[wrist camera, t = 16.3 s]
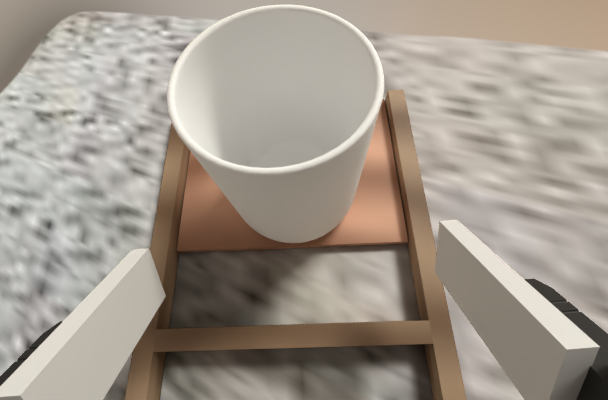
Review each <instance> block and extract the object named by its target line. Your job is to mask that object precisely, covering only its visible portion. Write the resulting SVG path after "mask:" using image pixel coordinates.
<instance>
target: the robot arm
mask: <svg viewBox="0 0 608 400" xmlns="http://www.w3.org/2000/svg"><path fill="white" fill-rule="evenodd" d="M435 273H436V275H437V276H438V278H439V279H440V280H441V282H442V283H443V285H444V286H445V287H446V289H447V290H448V292H449V293H450V295H451V296H452V297H453V299H454V300H455V302H456V303H457V304H458V306H459V307H460V309H461V310H462V312H463V313H464V314H465V316H466V317H467V319H468V320H469V321H470V323H471V324H472V326H473V327H474V329H475V330H476V331H477V333H478V334H479V336H480V337H481V338H482V340H483V341H484V343H485V344H486V346H487V347H488V348H489V350H490V351H491V353H492V354H493V355H494V357H495V358H496V360H497V361H498V363H499V364H500V365H501V367H502V368H503V370H504V371H505V372H506V374H507V375H508V377H509V378H510V380H511V381H512V382H513V384H514V385H515V387H516V388H517V389H518V391H519V392H520V394H521V395H522V397H523V398H524V399H525V400H608V334H607V333H606V332H605V331H604V330H602V329H601V328H600V327H599V326H597V325H596V324H595V323H594V322H593V321H591V320H590V319H589V318H588V317H587V316H585V315H584V314H583V313H582V312H579V311H578V309H577V308H576V307H574V306H573V305H572V304H571V303H570V302H567V301H566V299H565V298H564V297H562V296H561V295H560V294H559V293H557V292H556V291H555V290H554V289H553V288H551V287H549V286H547V285H545V284H543V283H541V282H539V281H538V280H536V279H525V280H524V279H523V278H522V277H521V276H520V275H519V274H517V273H516V272H515V271H514V270H513V269H512V268H511V267H510V266H508V265H507V264H506V263H505V262H504V261H503V260H502V259H501V258H499V257H498V256H497V255H496V254H495V253H494V252H493V251H492V250H490V249H489V248H488V247H487V246H486V245H485V244H484V243H483V242H481V241H480V240H479V239H478V238H477V237H476V236H475V235H474V234H472V233H471V232H470V231H469V230H468V229H467V228H466V227H465V226H463V225H462V224H461V223H460V222H459V221H458V220H448V221H440V222H439V233H438V243H437V253H436V264H435ZM165 297H166V295H165V292H164V289H163V287H162V284H161V281H160V278H159V275H158V272H157V270H156V267H155V264H154V261H153V258H152V255H151V252H150V250H149V248H145V249H134V250H132V251H131V252H130V253H129V254H128V255H127V256H126V257H125V258H124V259H123V260H122V261H121V262H120V263H119V264H118V265H117V266H116V267H115V268H114V269H113V270H112V271H111V272H110V273H109V274H108V275H107V276H106V277H105V279H104V280H103V281H102V282H101V283H100V284H99V285H98V286H97V287H96V288H95V289H94V290H93V291H92V292H91V293H90V294H89V295H88V296H87V297H86V298H85V299H84V300H83V301H82V302H81V303H80V304H79V305H78V306H77V308H76V309H75V310H74V311H73V312H72V313H71V314H70V315H69V316H68V317H67V318H66V319H65V320H64V321H60V322H59V323H58V324H56V325H55V326H53V327H52V328H50V329H49V330H48V331H46V332H45V333H43V334H42V335H41V336H40V337H39V338H38V339H37V340H36V341H35V342H34V343H33V344H32V345H31V346H30V347H29V350H26V351H25V352H24V353H23V354H22V355H21V356H20V357H19V358H18V361H17V362H14V363H13V364H12V365H11V366H10V367H9V368H8V369H7V370H6V371H5V372H4V373H3V374H2V375H1V376H0V400H103V399H104V397H105V396H106V394H107V393H108V391H109V389H110V388H111V386H112V384H113V383H114V381H115V379H116V378H117V376H118V374H119V373H120V371H121V369H122V368H123V366H124V364H125V363H126V361H127V359H128V358H129V356H130V355H131V353H132V351H133V350H134V348H135V346H136V345H137V343H138V341H139V340H140V338H141V336H142V335H143V333H144V331H145V330H146V328H147V326H148V325H149V323H150V322H151V320H152V318H153V317H154V315H155V313H156V312H157V310H158V308H159V307H160V305H161V303H162V302H163V300H164V298H165Z"/></svg>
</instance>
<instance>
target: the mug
mask: <svg viewBox="0 0 608 400" xmlns="http://www.w3.org/2000/svg"><path fill="white" fill-rule="evenodd" d="M383 93H384V75H383V69H382V65H381V62H380V59H379V57H378V54H377V52H376V51H375V49H374V47H373V45H372V44H371V43H370V41H369V40H368V39H367V38H366V36H365V35H364V34H363V33H361V32H360V31H359V30H358V29H357V28H356V27H354V26H353V25H352V24H350V23H349V22H347V21H346V20H344V19H342V18H340V17H338V16H336V15H334V14H331V13H329V12H326V11H323V10H319V9H316V8H311V7H306V6H298V5H271V6H264V7H257V8H253V9H249V10H245V11H242V12H239V13H236V14H233V15H231V16H229V17H226V18H224V19H222V20H220V21H218V22H217V23H215V24H213V25H212V26H210V27H209V28H207V29H206V30H204V31H203V32H202V33H200V34H199V35H198V36H197V37H196V38H195V39H194V40H192V42H191V43H190V44H189V45H188V46H187V47H186V48H185V49H184V51H183V52H182V54H181V55H180V57H179V58H178V60H177V62H176V64H175V65H174V67H173V70H172V72H171V75H170V78H169V83H168V88H167V105H168V111H169V116H170V119H171V122H172V125H173V127H174V128H175V130H176V132H177V134H178V136H179V137H180V138H181V139H182V141H183V142H184V143H185V145H186V146H187V147H188V149H189V150H190V151H191V152H192V154H193V155H194V156H195V158H196V159H197V160H198V161H199V163H200V164H201V165H202V167H203V168H204V169H205V170H206V172H207V173H208V174H209V176H210V177H211V178H212V179H213V181H214V182H215V183H216V185H217V186H218V187H219V189H220V190H221V191H222V192H223V194H224V195H225V196H226V198H227V199H228V200H229V201H230V203H231V204H232V205H233V207H234V208H235V209H236V210H237V212H238V213H239V214H240V216H241V217H242V218H243V219H244V221H245V222H246V223H247V224H248V225H249V226H250V227H251V228H253V229H254V230H255V231H256V232H258V233H259V234H261V235H263V236H265V237H267V238H269V239H272V240H275V241H279V242H284V243H302V242H308V241H311V240H314V239H317V238H319V237H321V236H324V235H325V234H327V233H328V232H330V231H331V230H332V229H334V228H335V227H336V226H337V225H338V224H339V223H340V222H341V221H342V220H343V219H344V217H345V216H346V214H347V213H348V211H349V209H350V207H351V205H352V203H353V200H354V197H355V194H356V190H357V187H358V183H359V180H360V176H361V173H362V169H363V166H364V162H365V159H366V155H367V152H368V148H369V145H370V141H371V138H372V134H373V131H374V127H375V124H376V120H377V117H378V114H379V110H380V107H381V103H382V99H383Z"/></svg>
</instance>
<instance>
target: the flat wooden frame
mask: <svg viewBox="0 0 608 400" xmlns="http://www.w3.org/2000/svg"><path fill="white" fill-rule="evenodd" d="M406 243H407V245H408V251H409V257H410V263H411V269H412V275H413V281H414V287H415V292H416V298H417V304H418V310H419V316H420V320H415V321H385V322H354V323H323V324H292V325H261V326H230V327H199V328H169V326H170V318H171V311H172V303H173V295H174V288H175V280H176V273H177V265H178V258H179V252H180V253H190V252H214V251H238V250H262V249H286V248H310V247H334V246H358V245H382V244H406ZM150 252H151V255H152V258H153V261H154V264H155V267H156V270H157V272H158V275H159V278H160V281H161V284H162V287H163V289H164V292H165V295H166V297H165V298H164V300H163V302H162V303H161V305H160V307H159V308H158V310H157V312H156V313H155V315H154V317H153V318H152V320H151V322H150V323H149V325H148V326H147V328H146V330H145V331H144V333H143V335H142V336H141V338H140V340H139V341H138V343H137V345H136V346H135V348H134V350H133V353H132V359H131V365H130V371H129V377H128V383H127V388H126V394H125V400H160V394H161V386H162V379H163V371H164V364H165V356H166V352H171V351H205V350H239V349H273V348H306V347H340V346H374V345H408V344H424V346H425V352H426V358H427V364H428V370H429V376H430V382H431V388H432V394H433V400H467V399H466V395H465V390H464V385H463V380H462V375H461V370H460V365H459V360H458V355H457V350H456V346H455V341H454V336H453V331H452V326H451V321H450V316H449V311H448V306H447V301H446V296H445V292H444V287H443V283H442V282H441V280H440V279H439V278H438V276H437V275H436V273H435V264H436V253H437V252H436V247H435V243H434V238H433V233H432V228H431V223H430V218H429V213H428V208H427V203H426V198H425V193H424V189H423V184H422V179H421V174H420V169H419V164H418V159H417V154H416V149H415V144H414V140H413V135H412V130H411V125H410V120H409V115H408V110H407V105H406V100H405V95H404V90H403V89H402V90H388V92H387V95H386V99H385V101H384V99H382V103H381V107H380V110H379V114H378V117H377V120H376V124H375V127H374V131H373V134H372V138H371V141H370V145H369V148H368V152H367V155H366V159H365V162H364V166H363V169H362V173H361V176H360V180H359V183H358V187H357V190H356V194H355V197H354V200H353V203H352V205H351V207H350V209H349V211H348V213H347V214H346V216H345V217H344V219H343V220H342V221H341V222H340V223H339V224H338V225H337V226H336V227H335V228H334V229H332V230H331V231H330V232H328V233H327V234H325V235H324V236H321V237H319V238H317V239H314V240H311V241H308V242H302V243H284V242H279V241H275V240H272V239H269V238H267V237H265V236H263V235H261V234H259V233H258V232H256V231H255V230H254V229H253V228H251V227H250V226H249V225H248V224H247V223H246V222H245V221H244V219H243V218H242V217H241V216H240V214H239V213H238V212H237V210H236V209H235V208H234V207H233V205H232V204H231V203H230V201H229V200H228V199H227V198H226V196H225V195H224V194H223V192H222V191H221V190H220V189H219V187H218V186H217V185H216V183H215V182H214V181H213V179H212V178H211V177H210V176H209V174H208V173H207V172H206V170H205V169H204V168H203V167H202V165H201V164H200V163H199V161H198V160H197V159H196V158H195V156H194V155H193V154H192V152H191V151H190V150H189V149H188V147H187V146H186V145H185V143H184V142H183V141H182V139H181V138H180V137H179V136H178V134H177V132H176V130H175V128H174V127H173V125H171V131H170V137H169V143H168V148H167V154H166V160H165V166H164V172H163V178H162V183H161V189H160V195H159V201H158V207H157V213H156V219H155V224H154V230H153V236H152V242H151V248H150Z"/></svg>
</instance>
